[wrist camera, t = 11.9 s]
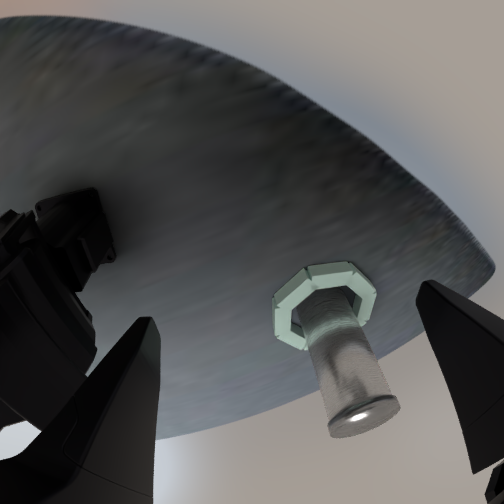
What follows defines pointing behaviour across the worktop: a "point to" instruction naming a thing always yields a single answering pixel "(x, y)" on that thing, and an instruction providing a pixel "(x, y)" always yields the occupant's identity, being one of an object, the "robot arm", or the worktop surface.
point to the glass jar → (344, 365)
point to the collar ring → (314, 280)
